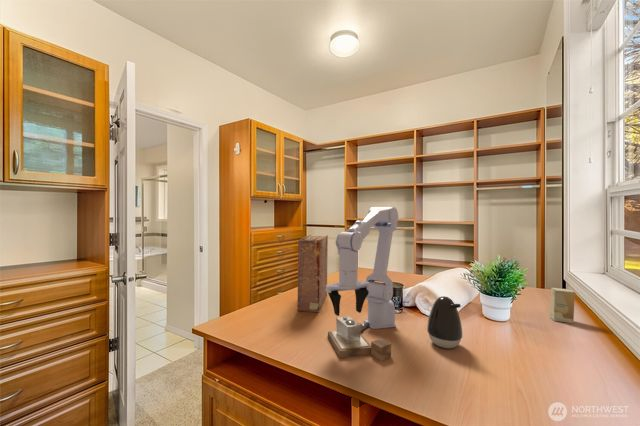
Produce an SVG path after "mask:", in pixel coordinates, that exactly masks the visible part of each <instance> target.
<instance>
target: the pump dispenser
mask: <svg viewBox="0 0 640 426" xmlns="http://www.w3.org/2000/svg"><path fill="white" fill-rule="evenodd" d="M458 308H462V307H461V303H455V302H454V301H453V299H452V298H450V297H448V296H446V295H445V296H438V298H436V299H435V301H434V303H433V305H432V307H431V310H430V312H429V317H428V320H427V326H426V328H427V329H426V331H427V333H428V337H429V339H430V340H431V342H432V343H433V344H434V345H436V346H438V347H440V348H443V349H453V348H456V347H457V346H458V345H459V344H460V343H461V340H462V339H463V337H464V336H463V327H462V326H463V325H462V321H461V317H460V314H459V311H458Z"/></svg>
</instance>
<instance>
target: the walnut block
mask: <svg viewBox="0 0 640 426" xmlns="http://www.w3.org/2000/svg"><path fill="white" fill-rule="evenodd" d="M370 345H371V354H370V355H371V356H372V357H374V358H375V359H377V360H378V361H380V362H382V361H385V360H387V359H389V358H391V357H392V343H391V342H388V341H387V340H385V339H383V338H377V339H375V340H372V341H371V342H370Z"/></svg>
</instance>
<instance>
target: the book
mask: <svg viewBox="0 0 640 426" xmlns="http://www.w3.org/2000/svg"><path fill="white" fill-rule="evenodd" d="M328 237H329V236H328V235H325V236H324V235H323V236H320V235H319V236H318V235H311V234H308V235H306V236H304V237H302V238H299V239H298V241H297V242H298V247H297V248H298V249H297V250H298V251H297V252H298V253H297V255H298V256H297V312H306V313H320V312H321V310H322V307H323V305H324V302H325V300H326V297H327V296H328V293H327V292H326V285H328V245H329V243H328V242H329V241H328V240H329V239H328Z"/></svg>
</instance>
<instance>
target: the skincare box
mask: <svg viewBox="0 0 640 426" xmlns="http://www.w3.org/2000/svg"><path fill="white" fill-rule="evenodd" d="M575 295H576V293H575V291H573V290H572V289H567V288H560V287H559V288H558V287H550V301H549V303H550V305H549V318H550V319H551V320H553V321H554V322H560V323H561V322H562V323H568V324H574V321H575V319H574V314H575Z"/></svg>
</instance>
